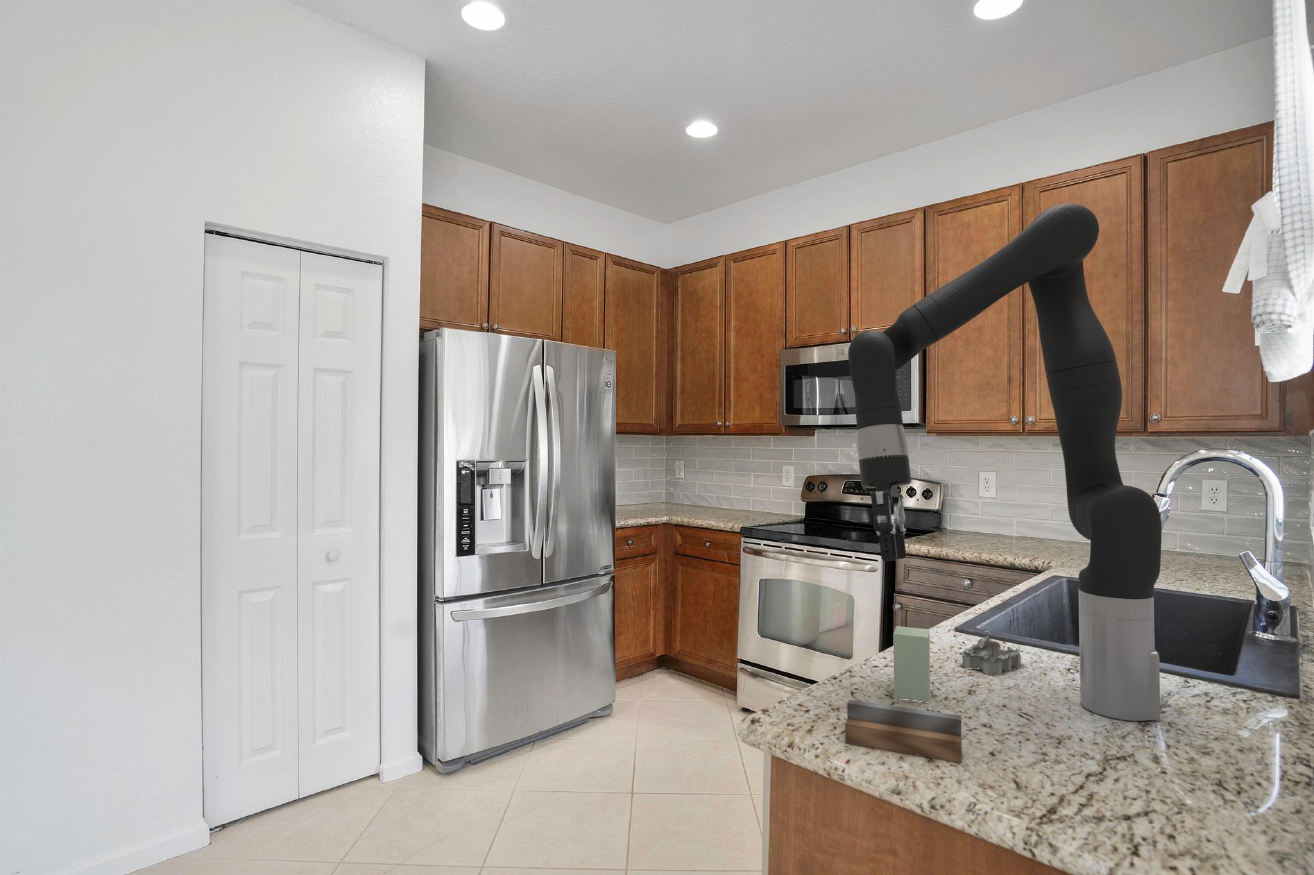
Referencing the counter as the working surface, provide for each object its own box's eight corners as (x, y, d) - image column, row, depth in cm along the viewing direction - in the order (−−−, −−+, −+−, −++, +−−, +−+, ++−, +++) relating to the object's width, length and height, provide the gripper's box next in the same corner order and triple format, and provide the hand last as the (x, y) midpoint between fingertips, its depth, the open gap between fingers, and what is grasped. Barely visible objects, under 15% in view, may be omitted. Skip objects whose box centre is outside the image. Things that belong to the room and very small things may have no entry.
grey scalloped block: (988, 656, 125) (988, 634, 125) (1028, 667, 119) (1028, 644, 119) (954, 666, 119) (954, 643, 120) (995, 678, 113) (994, 654, 113)
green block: (930, 692, 106) (929, 629, 106) (928, 703, 102) (928, 637, 102) (896, 688, 108) (896, 626, 108) (894, 698, 104) (893, 633, 104)
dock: (961, 729, 92) (961, 696, 92) (961, 762, 82) (961, 725, 83) (856, 713, 98) (856, 682, 98) (845, 742, 88) (844, 708, 88)
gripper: (900, 449, 98) (913, 561, 96) (914, 457, 111) (926, 557, 108) (848, 454, 102) (860, 563, 99) (868, 462, 114) (878, 559, 112)
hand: (894, 559), depth 104 cm, fingers open, 8 cm apart
